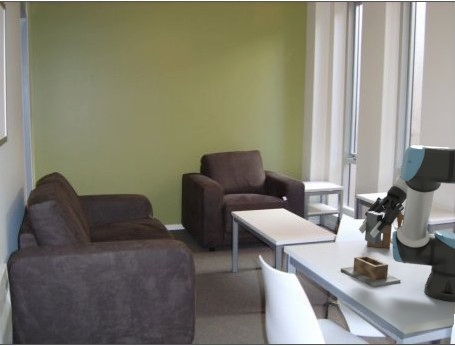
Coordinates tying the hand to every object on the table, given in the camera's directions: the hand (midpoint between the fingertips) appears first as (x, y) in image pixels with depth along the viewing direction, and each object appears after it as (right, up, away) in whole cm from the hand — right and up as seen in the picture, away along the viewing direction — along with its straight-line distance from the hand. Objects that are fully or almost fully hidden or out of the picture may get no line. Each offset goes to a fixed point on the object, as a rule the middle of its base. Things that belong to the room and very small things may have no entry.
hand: (366, 233), depth 211 cm
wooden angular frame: (+18, -12, +47) cm, 52 cm away
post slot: (+2, -18, +4) cm, 19 cm away
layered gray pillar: (+3, -4, +2) cm, 5 cm away
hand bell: (+31, -11, +56) cm, 65 cm away
